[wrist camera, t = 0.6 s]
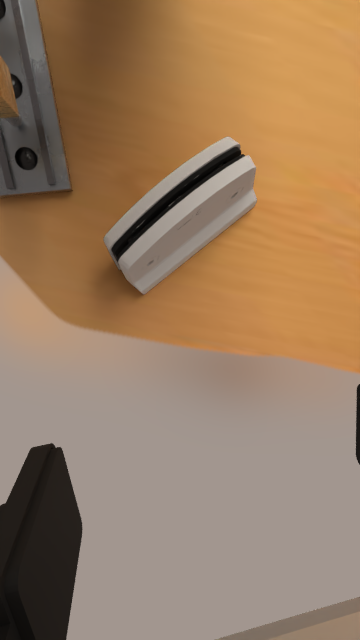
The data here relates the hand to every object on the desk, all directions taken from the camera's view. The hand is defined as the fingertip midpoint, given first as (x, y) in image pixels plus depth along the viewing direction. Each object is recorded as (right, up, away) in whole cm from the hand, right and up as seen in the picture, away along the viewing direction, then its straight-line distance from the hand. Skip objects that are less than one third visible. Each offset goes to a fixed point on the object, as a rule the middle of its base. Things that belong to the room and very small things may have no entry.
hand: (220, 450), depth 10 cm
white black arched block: (-2, +15, +26) cm, 30 cm away
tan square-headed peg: (-16, +22, +19) cm, 34 cm away
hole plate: (-17, +25, +20) cm, 36 cm away
